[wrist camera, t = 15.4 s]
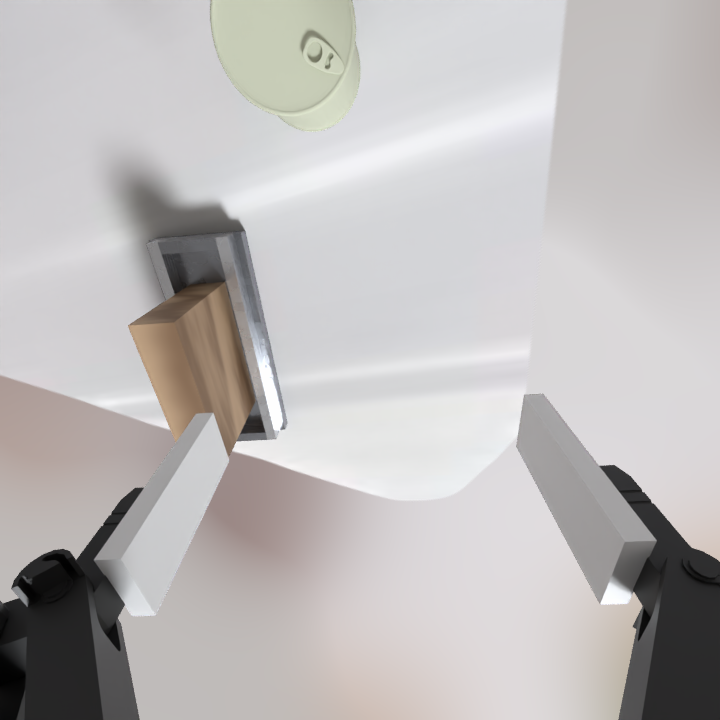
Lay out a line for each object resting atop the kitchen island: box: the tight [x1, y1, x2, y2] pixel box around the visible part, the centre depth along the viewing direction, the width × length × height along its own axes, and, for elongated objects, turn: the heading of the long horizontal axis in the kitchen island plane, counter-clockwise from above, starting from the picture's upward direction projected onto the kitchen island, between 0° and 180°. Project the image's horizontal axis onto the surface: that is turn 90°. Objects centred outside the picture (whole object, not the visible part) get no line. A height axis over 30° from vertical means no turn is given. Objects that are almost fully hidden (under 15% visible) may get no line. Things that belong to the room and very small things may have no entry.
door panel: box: [128, 282, 256, 457], centre depth 39 cm, size 5×16×12 cm, turn 5°
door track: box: [146, 231, 287, 441], centre depth 44 cm, size 10×26×4 cm, turn 5°
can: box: [210, 0, 360, 132], centre depth 28 cm, size 9×9×12 cm
